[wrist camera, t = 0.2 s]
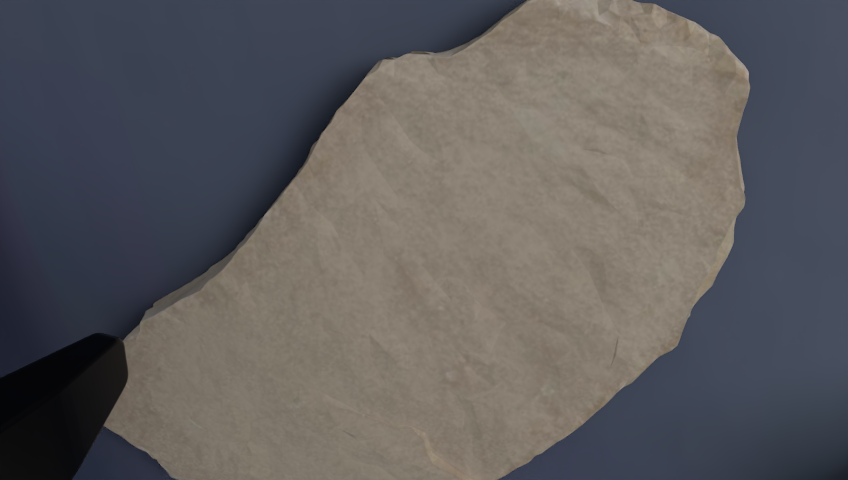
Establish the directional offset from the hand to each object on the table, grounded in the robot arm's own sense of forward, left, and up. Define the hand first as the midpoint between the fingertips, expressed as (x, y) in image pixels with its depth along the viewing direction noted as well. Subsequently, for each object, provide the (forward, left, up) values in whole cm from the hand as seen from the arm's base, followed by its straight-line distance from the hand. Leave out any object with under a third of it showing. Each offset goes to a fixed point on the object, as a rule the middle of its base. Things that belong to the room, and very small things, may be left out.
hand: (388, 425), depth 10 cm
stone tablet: (-5, -3, -16) cm, 17 cm away
